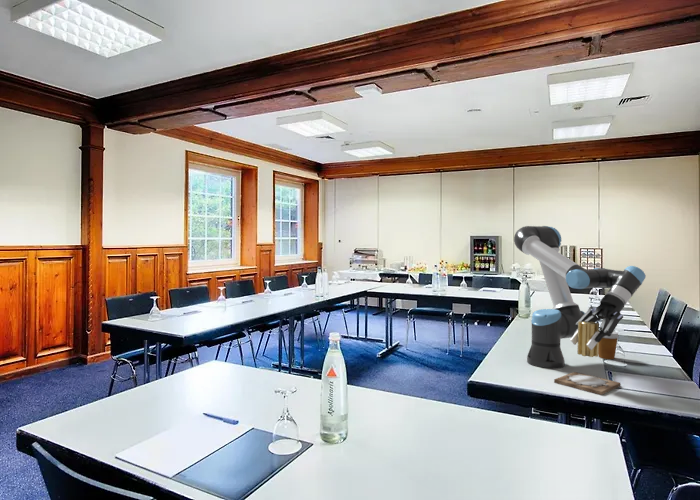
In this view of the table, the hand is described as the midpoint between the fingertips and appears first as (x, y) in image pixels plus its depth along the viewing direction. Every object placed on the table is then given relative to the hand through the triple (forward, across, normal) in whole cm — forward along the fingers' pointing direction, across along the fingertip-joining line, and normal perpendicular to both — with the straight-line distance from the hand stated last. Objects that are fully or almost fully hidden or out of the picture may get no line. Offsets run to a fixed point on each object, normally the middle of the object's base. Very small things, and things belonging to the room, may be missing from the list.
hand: (580, 344), depth 165 cm
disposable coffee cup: (-19, +27, -41) cm, 53 cm away
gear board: (+8, 0, -13) cm, 16 cm away
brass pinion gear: (0, 0, -5) cm, 5 cm away
